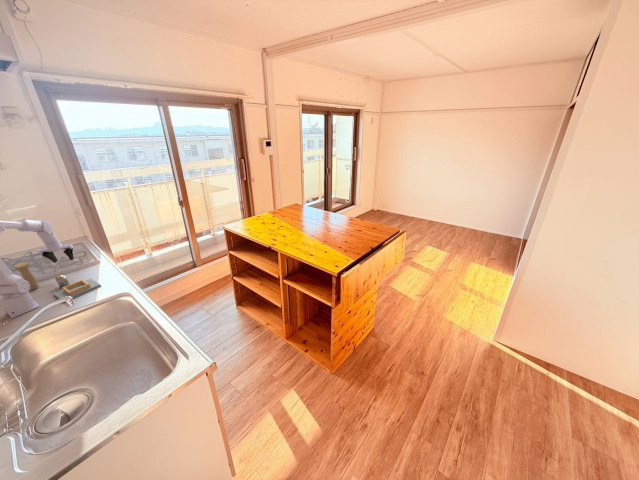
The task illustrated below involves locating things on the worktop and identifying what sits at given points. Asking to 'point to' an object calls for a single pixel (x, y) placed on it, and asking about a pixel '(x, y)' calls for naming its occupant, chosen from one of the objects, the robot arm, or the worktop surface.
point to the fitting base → (77, 288)
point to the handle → (27, 274)
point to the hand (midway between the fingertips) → (64, 260)
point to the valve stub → (62, 281)
